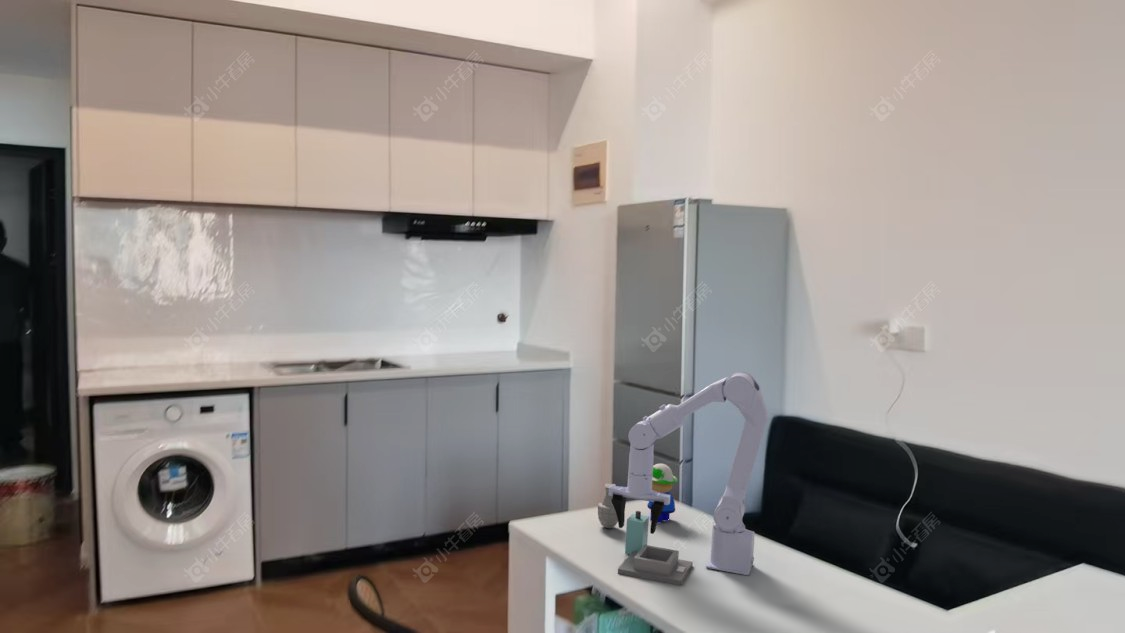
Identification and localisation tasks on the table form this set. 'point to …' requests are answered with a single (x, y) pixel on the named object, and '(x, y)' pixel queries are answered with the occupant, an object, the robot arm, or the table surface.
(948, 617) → the table surface
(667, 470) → the toy
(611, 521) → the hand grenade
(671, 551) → the socket block
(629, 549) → the plug
